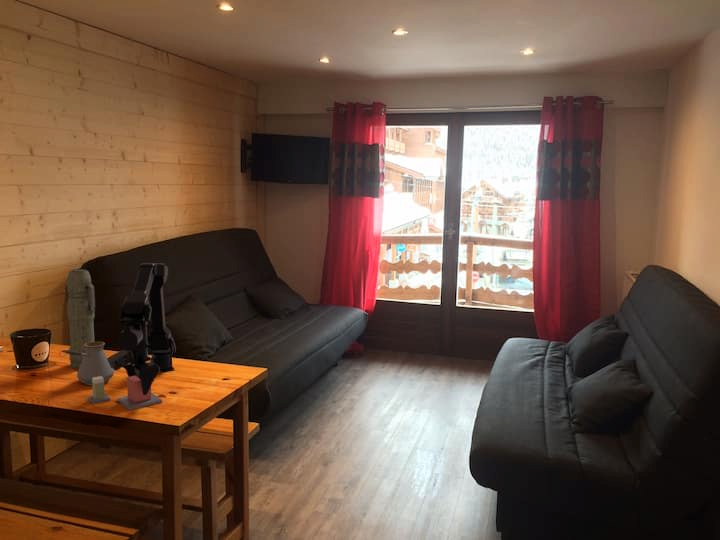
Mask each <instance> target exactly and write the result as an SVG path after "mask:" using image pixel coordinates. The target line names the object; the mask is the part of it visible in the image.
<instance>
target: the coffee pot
mask: <svg viewBox="0 0 720 540" xmlns="http://www.w3.org/2000/svg"><path fill="white" fill-rule="evenodd" d="M105 344H106V343H105V342H104V341H94V342H89V343H85V344H84V347H85V348H86V353H80V352H76V351H69V349H67V350H66V349H62V351H61V350H60V352H59V353H58V355H59V356H60V357H61V358H64V357H65V356H66V355H69V354H71V355H82V356H84V358H83V360H82V363H81V365H80V368H79V369H77V372H76V373H77V374H76V377H77V379H78V380H79V381H80V382H82V383H83V384H84V385H86V386H87V385H88V386H92V378H93V377H98V376H102V377H103V378H104V384H105V383H107V382H109V380H111V379H112V377H113V376H114V374H115V370H114V369H113V368H111V367H110V364H109V362H108V360H107V358H108V356H107V354H106V352H105V350H104V346H105ZM61 353H64V355H63V356H62V355H61Z"/></svg>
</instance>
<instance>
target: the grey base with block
mask: <svg viewBox="0 0 720 540" xmlns="http://www.w3.org/2000/svg"><path fill="white" fill-rule="evenodd" d="M91 386H92V395H91V396H87V400H88V401H89V402H90V403H91V404H92V405H95V404H99V403H104V402H109V401H111V397H110V396H109V395H107V394H106V393H105V383H104V378H103V377H102V376H98V377H93V378H92V385H91Z"/></svg>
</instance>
